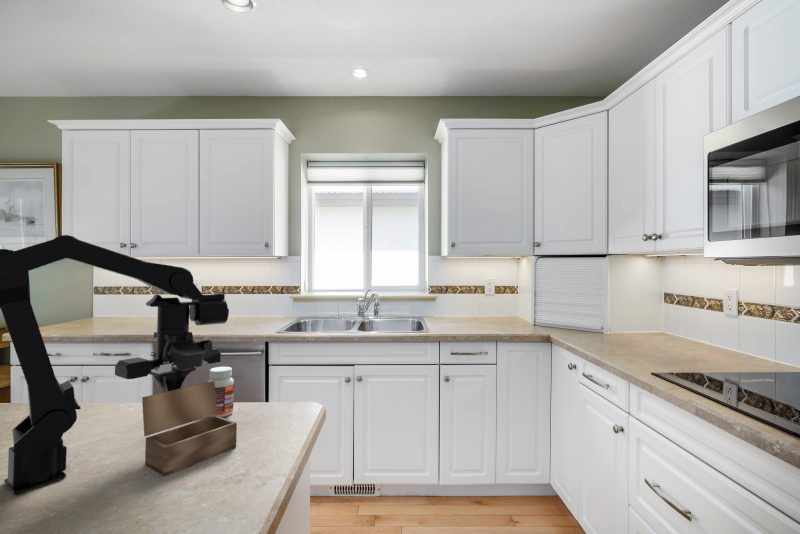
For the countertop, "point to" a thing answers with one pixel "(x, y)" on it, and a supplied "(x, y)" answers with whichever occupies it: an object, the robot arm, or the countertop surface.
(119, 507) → the countertop surface
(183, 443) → the box
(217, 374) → the pill bottle
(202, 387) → the lid
